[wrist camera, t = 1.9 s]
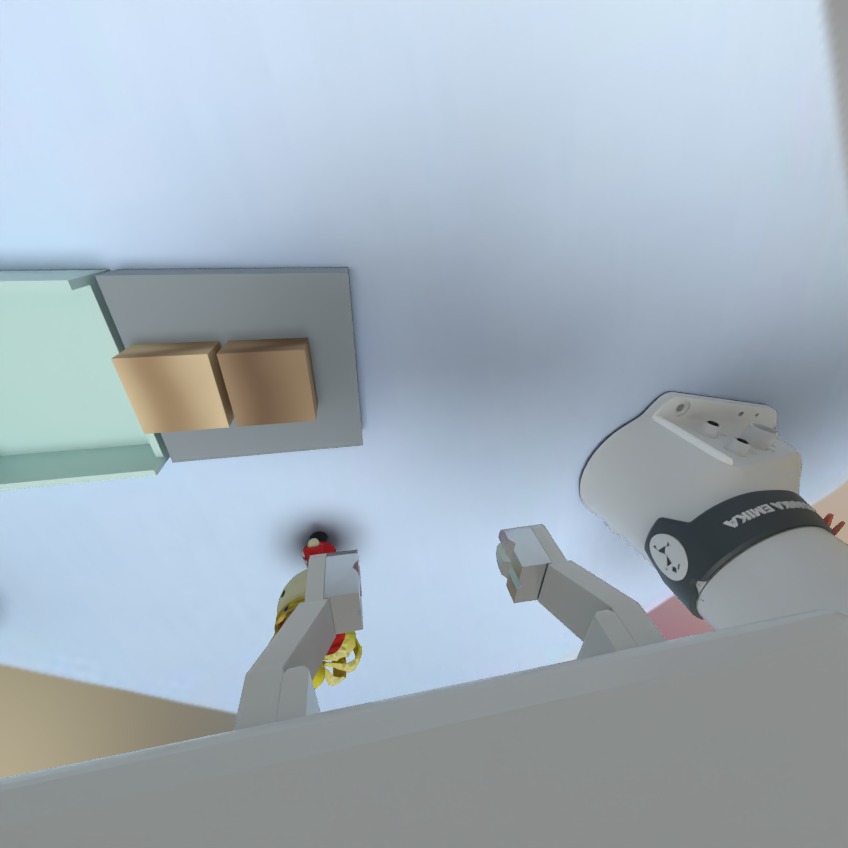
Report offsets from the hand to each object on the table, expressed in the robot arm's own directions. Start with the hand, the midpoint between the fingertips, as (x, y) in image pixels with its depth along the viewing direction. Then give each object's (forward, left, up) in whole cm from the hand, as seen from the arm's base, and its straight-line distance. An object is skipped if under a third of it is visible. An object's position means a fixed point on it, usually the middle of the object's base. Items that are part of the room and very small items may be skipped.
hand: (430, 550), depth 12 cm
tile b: (+7, 0, -17) cm, 18 cm away
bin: (+22, 0, -19) cm, 30 cm away
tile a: (+13, 0, -17) cm, 21 cm away
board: (+9, 0, -19) cm, 21 cm away
